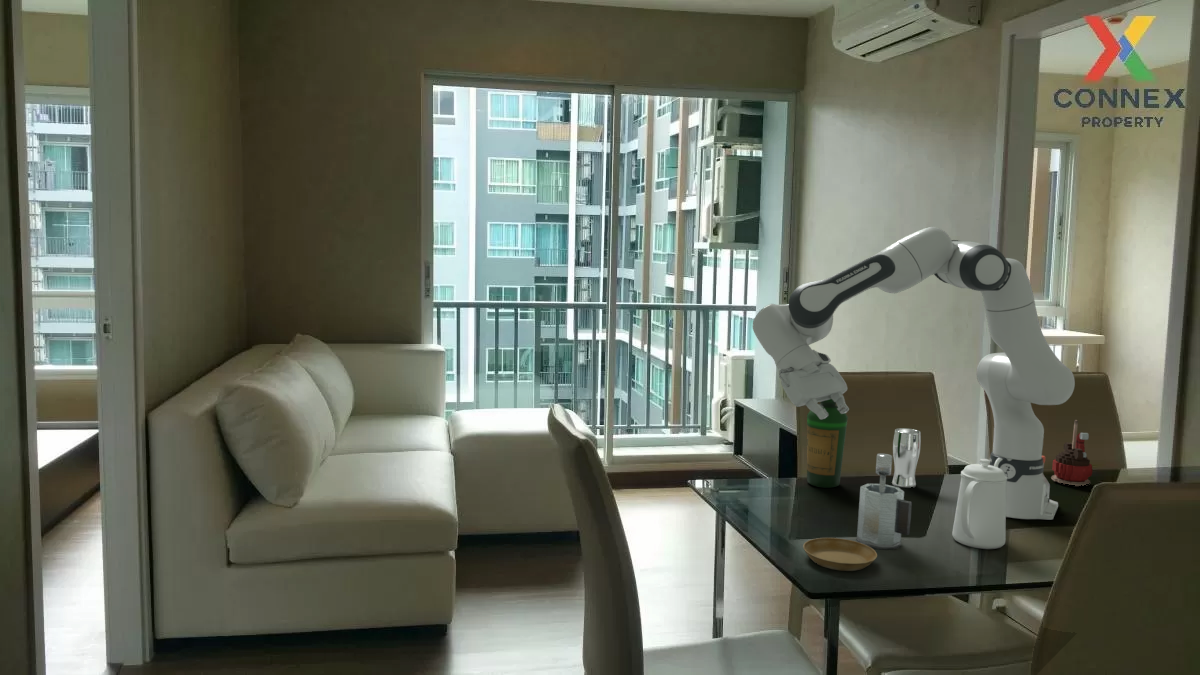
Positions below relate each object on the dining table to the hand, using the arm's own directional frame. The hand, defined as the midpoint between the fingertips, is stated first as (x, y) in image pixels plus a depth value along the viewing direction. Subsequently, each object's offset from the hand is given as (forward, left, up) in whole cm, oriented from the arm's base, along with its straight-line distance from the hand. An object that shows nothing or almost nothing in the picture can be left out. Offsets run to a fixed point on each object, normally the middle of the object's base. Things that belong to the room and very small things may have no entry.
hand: (835, 414), depth 201 cm
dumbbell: (0, +12, -24) cm, 27 cm away
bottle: (-33, -20, -27) cm, 47 cm away
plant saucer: (+17, +12, -27) cm, 34 cm away
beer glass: (-50, -5, -27) cm, 57 cm away
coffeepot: (-18, +27, -27) cm, 42 cm away
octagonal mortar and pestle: (0, +12, -26) cm, 29 cm away
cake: (-89, +26, -27) cm, 96 cm away
